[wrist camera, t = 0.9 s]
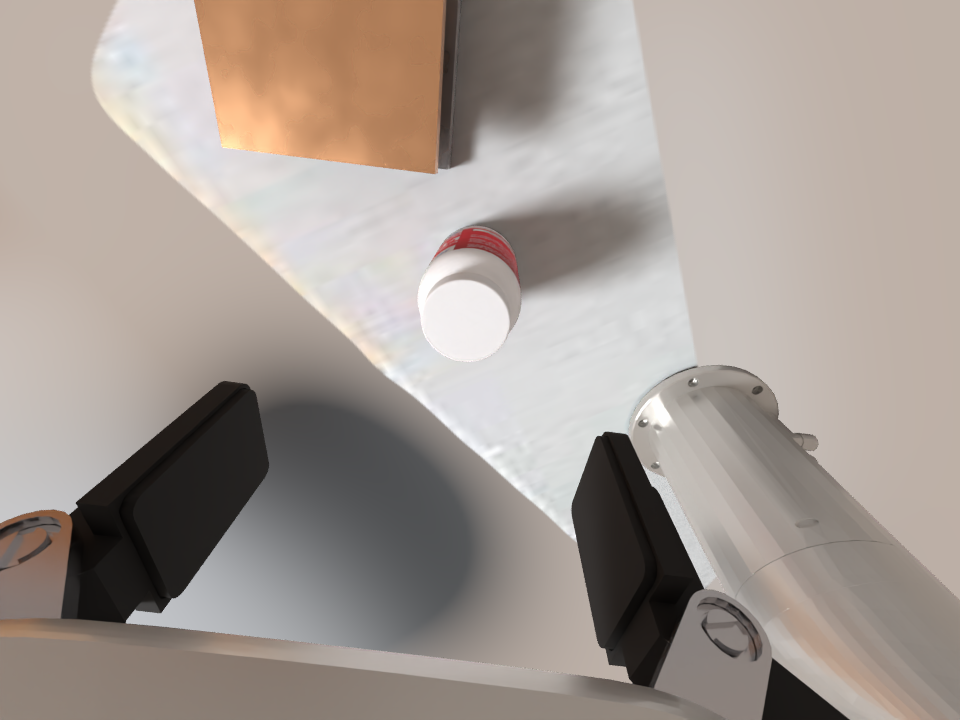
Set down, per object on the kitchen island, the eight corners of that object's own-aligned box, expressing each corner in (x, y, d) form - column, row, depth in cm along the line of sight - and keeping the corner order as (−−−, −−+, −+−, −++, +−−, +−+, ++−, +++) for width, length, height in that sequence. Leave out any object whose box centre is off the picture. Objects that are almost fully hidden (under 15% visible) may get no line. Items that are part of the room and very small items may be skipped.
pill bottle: (455, 209, 27) (432, 241, 18) (531, 247, 28) (548, 296, 19) (424, 284, 30) (389, 347, 20) (494, 316, 31) (492, 391, 21)
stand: (464, -56, 21) (450, -147, 14) (450, 168, 26) (434, 174, 20) (262, -84, 20) (158, -188, 14) (289, 148, 26) (222, 147, 20)
